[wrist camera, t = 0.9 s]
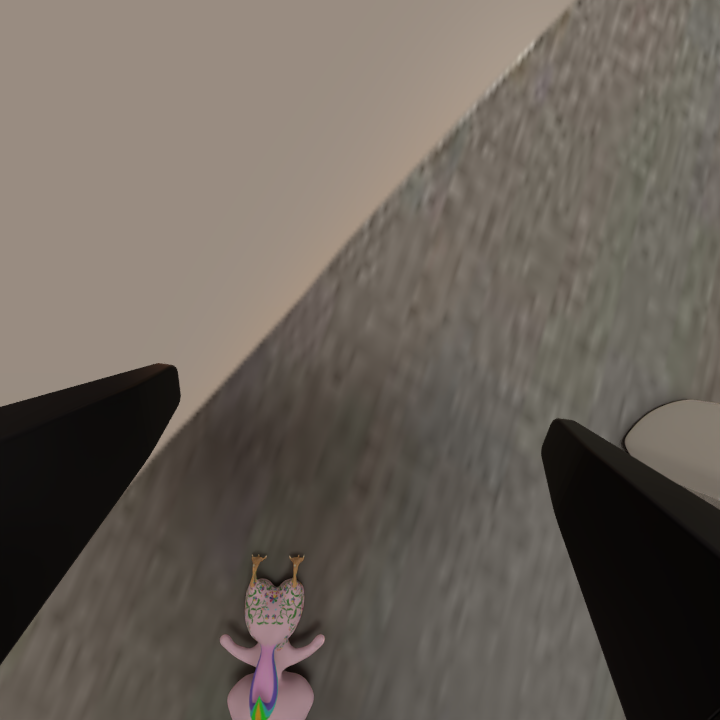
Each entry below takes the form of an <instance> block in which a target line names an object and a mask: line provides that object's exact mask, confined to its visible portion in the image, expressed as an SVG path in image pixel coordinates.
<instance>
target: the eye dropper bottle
mask: <svg viewBox="0 0 720 720" xmlns="http://www.w3.org/2000/svg"><path fill="white" fill-rule="evenodd" d="M625 446H626V448H627V450H628V452H629V454H630V455H631V456H633V457H634V458H636V459H638V460H639V461H641V462H643V463H644V464H646V465H647V466H649V467H651V468H652V469H654V470H656V471H657V472H659V473H661V474H662V475H664V476H665V477H667V478H669V479H670V480H672V481H674V482H675V483H677V484H680V485H682V486H684V487H687V488H689V489H692V490H694V491H697V492H699V493H702V494H704V495H707V496H709V497H712V498H714V499H717V500H719V501H720V404H719V403H713V402H706V401H699V400H682V401H676V402H672V403H669V404H666V405H664V406H661V407H659V408H657V409H655V410H653V411H651V412H650V413H648V414H647V415H646V416H644V417H643V418H642V419H641V420H640V421H639V422H638V423H637V424H636V425H635V426H634V427H633V428H632V429H631V431H630V432H629V433H628V435H627V436H626V439H625Z"/></svg>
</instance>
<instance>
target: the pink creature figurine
mask: <svg viewBox="0 0 720 720" xmlns="http://www.w3.org/2000/svg"><path fill="white" fill-rule="evenodd" d="M259 556H260V555H259V554H258V557H253V555H252V561H253V575H252V579H251V582H250V585H249V587H248V589H247V593H246V601H245V620H246V625H247V628H248V630H249V633H250V635H251V636H252V637H253V638H254V639H255V640H256V641H258V643H257V645H256V646H254V647H252V648H245V647H242V646H239V645H237V644H236V643H235V642H234V641H233V640H232V639H231V637H230V636H229V635H228V634H223V635H222V636H221V638H220V643H221V644H222V646H223V647H224V648H225V649H227V650H228V651H229V652H230V653H231V654H232V655H233V656H235V657H236V658H238V659H240V660H241V661H243V662H245V663H247V664H250V665H252V666H254V667H256V670H255V673H252V674H248V675H246V676H244V677H243V678H242V679H240V680H239V681H238V682H237V683H236V685H235V686H234V687H233V688H232V689H231V691H230V693H229V695H228V699H227V703H228V708H229V711H230V714H231V717H232V720H305V719H306V717H307V715H308V712H309V710H310V708H311V706H312V704H313V701H314V693H313V690H312V688H311V686H310V684H309V683H308V682H307V680H306V679H305V678H304V677H303V676H301V675H299V674H297V673H292V672H286V671H285V670H284V669H285V668H287V667H289V666H291V665H293V664H296V663H298V662H300V661H302V660H304V659H305V658H307V657H309V656H310V655H312V654H313V653H314V652H315V651H316V650H317V649H318V648H319V647H320V646H322V644H323V643H324V641H325V637H324V635H322V634H319V635H317V636H316V637H315V638H314V640H313V641H312V642H311V643H310V644H309V645H307V646H304V647H301V648H294V647H292V646H291V644H290V642H289V640H288V638H289V637H290V636H291V635H292V633H293V632H294V630H295V629H296V627H297V625H298V622H299V620H300V618H301V615H302V611H303V607H304V588H303V585H302V584H301V583H300V582H299V581H298V580H297V579H296V575H297V570H298V566H299V564H300V562H302V561H303V560H304V556H303V558H301V557H299V555H298V557H293V558H291V557H290V555H289V558H290V559H291V561H292V562H293V570H294V573H293V578H292V579H287V580H285V581H284V582H283V583H282V584H281V585H280V586H278V587H275V586H274V585H273V584H272V583H271V582H270V581H269V580H268V579H265V578H261V579H257V577H256V571H257V568H258V565H259V564H260V562H261V561H263V560H264V559H266V557H267V555H266V556H265V557H264V558H262V557H259Z"/></svg>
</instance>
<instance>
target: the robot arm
mask: <svg viewBox="0 0 720 720" xmlns="http://www.w3.org/2000/svg"><path fill="white" fill-rule="evenodd" d="M180 397H181V395H180V387H179V378H178V371H177V369H176V367H175V366H173V365H168V364H160V363H157V364H153V365H150V366H146V367H142V368H139V369H135V370H131V371H128V372H124V373H120V374H117V375H114V376H110V377H106V378H102V379H99V380H95V381H92V382H88V383H84V384H81V385H78V386H74V387H70V388H67V389H63V390H60V391H56V392H52V393H49V394H45V395H41V396H38V397H34V398H31V399H27V400H23V401H20V402H16V403H13V404H9V405H6V406H2V407H0V665H1V664H2V662H3V661H4V659H5V658H6V657H7V655H8V654H9V652H10V651H11V650H12V648H13V647H14V645H15V644H16V643H17V641H18V640H19V638H20V637H21V636H22V634H23V633H24V631H25V630H26V629H27V627H28V626H29V624H30V623H31V622H32V620H33V619H34V617H35V616H36V615H37V613H38V612H39V610H40V609H41V608H42V606H43V605H44V603H45V602H46V601H47V599H48V598H49V596H50V595H51V594H52V592H53V591H54V589H55V588H56V587H57V585H58V584H59V582H60V581H61V580H62V578H63V577H64V575H65V574H66V573H67V571H68V570H69V568H70V567H71V566H72V564H73V563H74V561H75V560H76V559H77V557H78V556H79V554H80V553H81V552H82V550H83V549H84V547H85V546H86V545H87V543H88V542H89V540H90V539H91V538H92V536H93V535H94V533H95V532H96V531H97V529H98V528H99V526H100V525H101V524H102V522H103V521H104V519H105V518H106V517H107V515H108V514H109V512H110V511H111V510H112V508H113V507H114V505H115V504H116V503H117V501H118V500H119V498H120V497H121V496H122V494H123V493H124V491H125V490H126V489H127V487H128V486H129V484H130V483H131V482H132V480H133V479H134V477H135V476H136V475H137V473H138V472H139V470H140V469H141V468H142V466H143V465H144V463H145V462H146V460H147V459H148V457H149V456H150V454H151V453H152V451H153V449H154V448H155V446H156V444H157V442H158V441H159V439H160V437H161V435H162V434H163V432H164V430H165V428H166V426H167V425H168V423H169V421H170V419H171V417H172V415H173V414H174V412H175V410H176V409H177V407H178V405H179V402H180ZM541 456H542V461H543V465H544V470H545V474H546V479H547V483H548V487H549V492H550V496H551V501H552V505H553V509H554V513H555V516H556V519H557V522H558V525H559V528H560V531H561V534H562V537H563V540H564V542H565V545H566V548H567V551H568V554H569V557H570V560H571V562H572V565H573V568H574V571H575V574H576V577H577V580H578V582H579V585H580V588H581V591H582V594H583V597H584V600H585V602H586V605H587V608H588V611H589V614H590V617H591V620H592V622H593V625H594V628H595V631H596V634H597V637H598V640H599V642H600V645H601V648H602V651H603V654H604V657H605V660H606V662H607V665H608V668H609V671H610V674H611V677H612V680H613V682H614V685H615V688H616V691H617V694H618V697H619V700H620V702H621V705H622V708H623V711H624V714H625V717H626V720H720V510H719V509H718V508H716V507H714V506H713V505H711V504H710V503H708V502H706V501H705V500H703V499H701V498H700V497H698V496H696V495H695V494H693V493H692V492H690V491H688V490H687V489H685V488H683V487H682V486H680V485H678V484H677V483H675V482H674V481H672V480H670V479H669V478H667V477H665V476H664V475H662V474H661V473H659V472H657V471H656V470H654V469H652V468H651V467H649V466H647V465H646V464H644V463H643V462H641V461H639V460H638V459H636V458H634V457H633V456H631V455H629V454H628V453H626V452H625V451H623V450H621V449H620V448H618V447H616V446H615V445H613V444H611V443H610V442H608V441H607V440H605V439H603V438H602V437H600V436H598V435H597V434H595V433H593V432H592V431H590V430H589V429H587V428H585V427H584V426H582V425H580V424H579V423H577V422H575V421H573V420H567V419H560V418H557V419H555V420H553V421H552V423H551V425H550V427H549V430H548V432H547V435H546V437H545V440H544V443H543V445H542V449H541Z"/></svg>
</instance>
